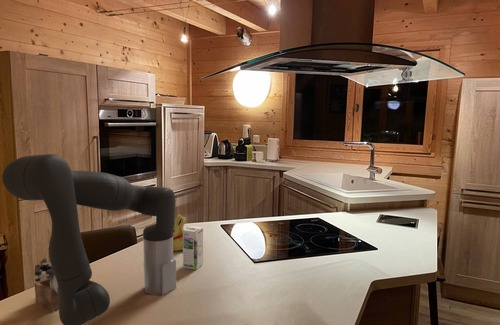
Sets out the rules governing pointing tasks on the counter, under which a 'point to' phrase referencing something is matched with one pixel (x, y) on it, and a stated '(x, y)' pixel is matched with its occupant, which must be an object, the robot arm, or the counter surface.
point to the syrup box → (192, 247)
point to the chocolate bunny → (178, 233)
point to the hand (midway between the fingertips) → (56, 259)
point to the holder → (46, 295)
